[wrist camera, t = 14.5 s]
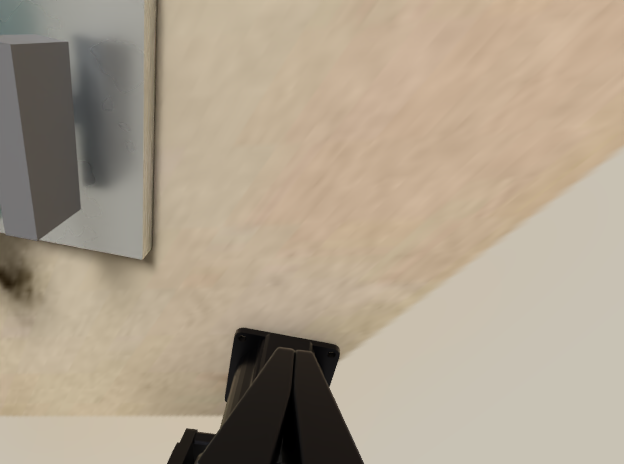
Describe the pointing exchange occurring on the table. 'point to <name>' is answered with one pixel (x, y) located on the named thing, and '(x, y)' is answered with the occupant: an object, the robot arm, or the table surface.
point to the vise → (104, 114)
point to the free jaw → (36, 136)
